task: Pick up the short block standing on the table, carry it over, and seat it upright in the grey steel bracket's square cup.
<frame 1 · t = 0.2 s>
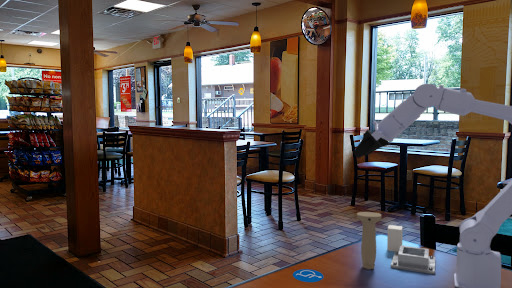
hand: (359, 154, 105), 31 cm above the table, tool tilted 45°, fingers open, 7 cm apart
handle: (368, 268, 106), on the table
block: (394, 249, 120), on the table
bracket: (413, 263, 108), on the table
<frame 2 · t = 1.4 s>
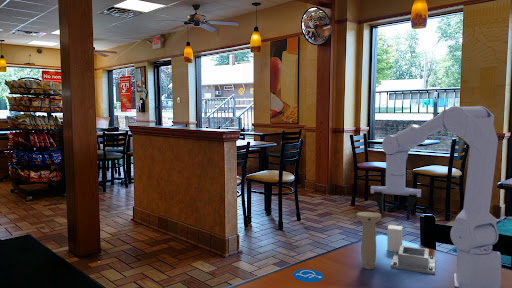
hand: (394, 217, 119), 10 cm above the table, tool pointing down, fingers open, 7 cm apart
nothing on the table moved.
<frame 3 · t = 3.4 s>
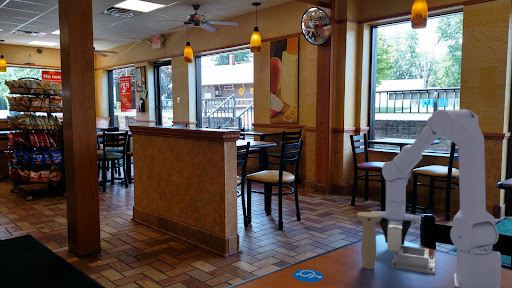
hand: (394, 243, 119), 2 cm above the table, tool pointing down, fingers closed on block, 4 cm apart
block: (394, 249, 120), on the table, touching gripper
everything else where it was.
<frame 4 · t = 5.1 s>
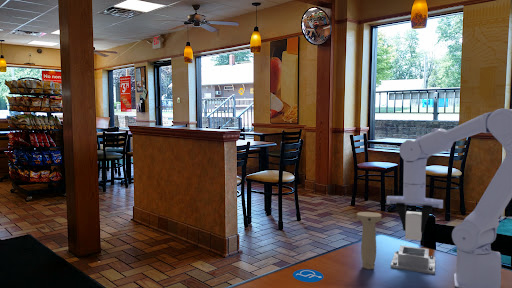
hand: (413, 230, 108), 9 cm above the table, tool pointing down, fingers closed on block, 4 cm apart
block: (413, 237, 108), point 7 cm above the table, touching gripper
everything else where it was.
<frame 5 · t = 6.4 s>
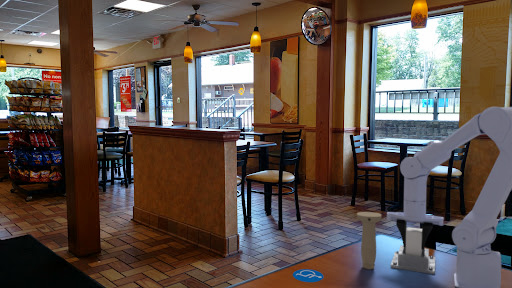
hand: (413, 247, 108), 5 cm above the table, tool pointing down, fingers closed on block, 4 cm apart
block: (413, 254, 108), point 3 cm above the table, touching gripper
everything else where it was.
when the fingers open (5 cm above the table, at t = 7.1 s): block drops 2 cm, resting on bracket.
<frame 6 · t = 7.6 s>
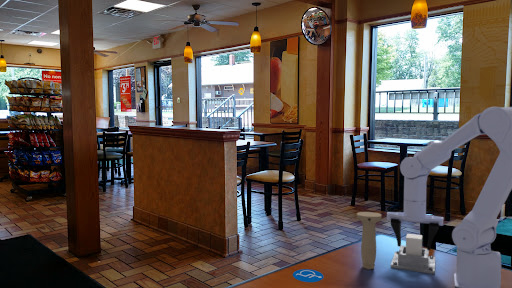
hand: (413, 247, 108), 5 cm above the table, tool pointing down, fingers open, 7 cm apart
block: (413, 260, 108), point 1 cm above the table, touching bracket
everything else where it was.
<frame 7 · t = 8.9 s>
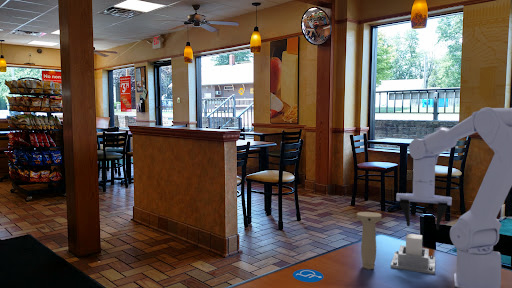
hand: (422, 227, 111), 9 cm above the table, tool pointing down, fingers open, 7 cm apart
nothing on the table moved.
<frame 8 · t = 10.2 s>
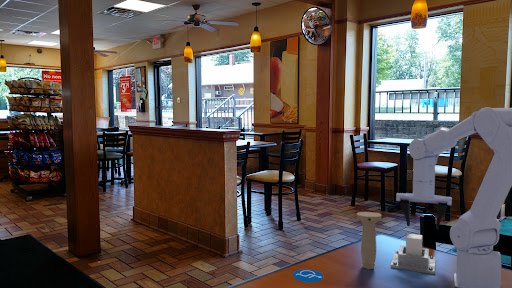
hand: (422, 227, 111), 9 cm above the table, tool pointing down, fingers open, 7 cm apart
nothing on the table moved.
at the end: block 0.2 cm off-centre on the bracket, point 0.8 cm above the bracket's base; block tilted 0°; the gripper is holding nothing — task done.
